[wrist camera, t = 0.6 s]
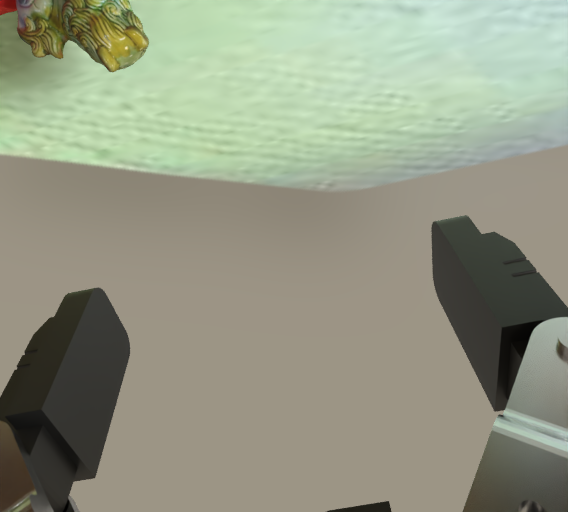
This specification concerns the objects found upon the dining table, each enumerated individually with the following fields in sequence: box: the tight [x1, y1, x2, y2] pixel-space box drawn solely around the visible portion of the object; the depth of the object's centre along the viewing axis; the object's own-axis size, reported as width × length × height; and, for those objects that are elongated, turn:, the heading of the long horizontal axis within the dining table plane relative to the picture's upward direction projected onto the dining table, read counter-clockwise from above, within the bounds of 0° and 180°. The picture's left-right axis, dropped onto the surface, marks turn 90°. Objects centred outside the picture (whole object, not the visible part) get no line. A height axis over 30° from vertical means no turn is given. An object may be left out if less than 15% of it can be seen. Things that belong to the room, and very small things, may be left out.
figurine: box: [0, 0, 149, 72], centre depth 28 cm, size 8×10×12 cm
